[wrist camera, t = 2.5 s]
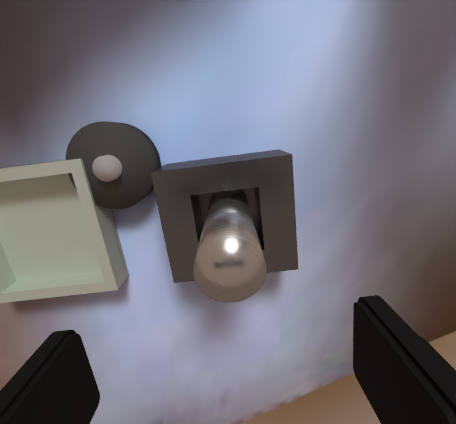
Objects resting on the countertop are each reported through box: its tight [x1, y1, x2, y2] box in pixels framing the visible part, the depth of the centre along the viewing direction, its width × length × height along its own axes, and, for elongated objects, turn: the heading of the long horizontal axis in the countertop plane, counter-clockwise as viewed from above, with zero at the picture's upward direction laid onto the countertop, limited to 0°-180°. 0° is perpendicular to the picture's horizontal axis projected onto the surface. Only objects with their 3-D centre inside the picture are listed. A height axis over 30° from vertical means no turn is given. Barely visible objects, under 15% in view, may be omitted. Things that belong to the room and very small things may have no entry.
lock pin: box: [193, 190, 266, 302], centre depth 18 cm, size 4×4×11 cm
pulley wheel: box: [66, 122, 161, 209], centre depth 22 cm, size 7×7×3 cm
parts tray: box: [0, 158, 129, 303], centre depth 24 cm, size 12×12×3 cm
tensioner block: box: [151, 150, 298, 283], centre depth 22 cm, size 10×9×5 cm
